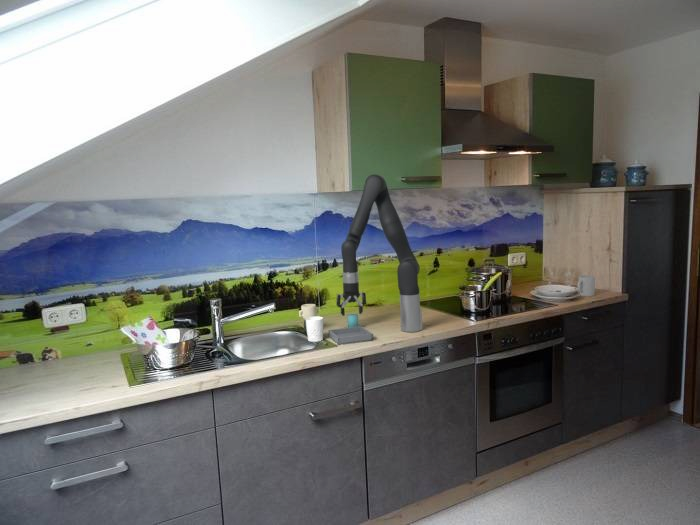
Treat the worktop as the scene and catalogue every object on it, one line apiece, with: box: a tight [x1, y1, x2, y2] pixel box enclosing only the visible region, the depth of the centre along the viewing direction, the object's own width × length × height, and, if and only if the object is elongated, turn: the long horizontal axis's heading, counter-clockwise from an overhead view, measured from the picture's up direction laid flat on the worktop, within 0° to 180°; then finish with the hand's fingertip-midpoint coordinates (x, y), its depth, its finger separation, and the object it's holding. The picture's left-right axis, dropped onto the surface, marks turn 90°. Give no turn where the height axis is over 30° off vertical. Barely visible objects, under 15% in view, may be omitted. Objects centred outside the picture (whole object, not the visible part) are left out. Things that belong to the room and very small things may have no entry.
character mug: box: [298, 303, 320, 333], centre depth 243 cm, size 11×7×13 cm, turn 127°
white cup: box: [306, 315, 324, 343], centre depth 228 cm, size 8×8×10 cm
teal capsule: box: [346, 313, 360, 328], centre depth 244 cm, size 5×5×7 cm
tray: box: [328, 325, 374, 346], centre depth 228 cm, size 16×16×3 cm
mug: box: [577, 275, 596, 297], centre depth 296 cm, size 12×8×11 cm
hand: (351, 314), depth 244 cm, fingers open, 8 cm apart
